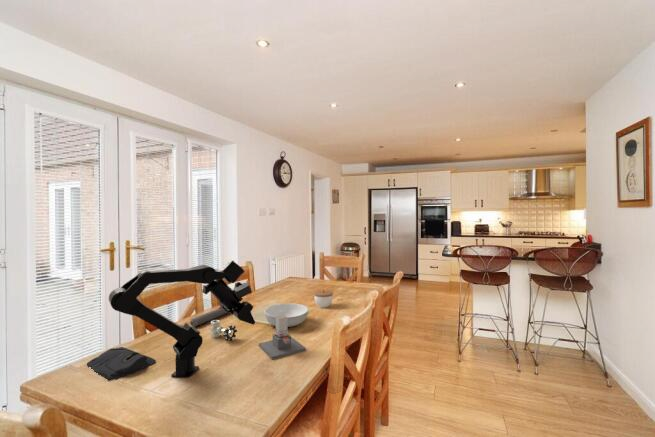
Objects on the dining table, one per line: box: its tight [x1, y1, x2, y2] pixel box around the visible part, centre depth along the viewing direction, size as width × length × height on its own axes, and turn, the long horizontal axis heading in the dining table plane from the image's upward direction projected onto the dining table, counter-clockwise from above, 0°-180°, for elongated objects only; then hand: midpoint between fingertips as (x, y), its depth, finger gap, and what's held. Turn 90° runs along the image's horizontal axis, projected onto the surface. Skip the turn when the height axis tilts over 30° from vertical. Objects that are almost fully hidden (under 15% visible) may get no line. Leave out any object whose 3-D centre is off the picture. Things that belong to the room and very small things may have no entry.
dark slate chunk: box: [86, 346, 157, 382], centre depth 112 cm, size 15×22×5 cm
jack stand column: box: [275, 315, 289, 338], centre depth 124 cm, size 4×4×11 cm
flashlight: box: [189, 306, 230, 328], centre depth 159 cm, size 5×28×5 cm, turn 155°
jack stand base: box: [258, 333, 307, 360], centre depth 124 cm, size 14×14×5 cm
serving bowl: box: [263, 302, 309, 328], centre depth 151 cm, size 21×21×7 cm
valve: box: [210, 319, 238, 342], centre depth 135 cm, size 7×7×12 cm
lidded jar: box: [313, 289, 334, 309], centre depth 179 cm, size 11×11×9 cm
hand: (248, 320), depth 120 cm, fingers open, 9 cm apart
